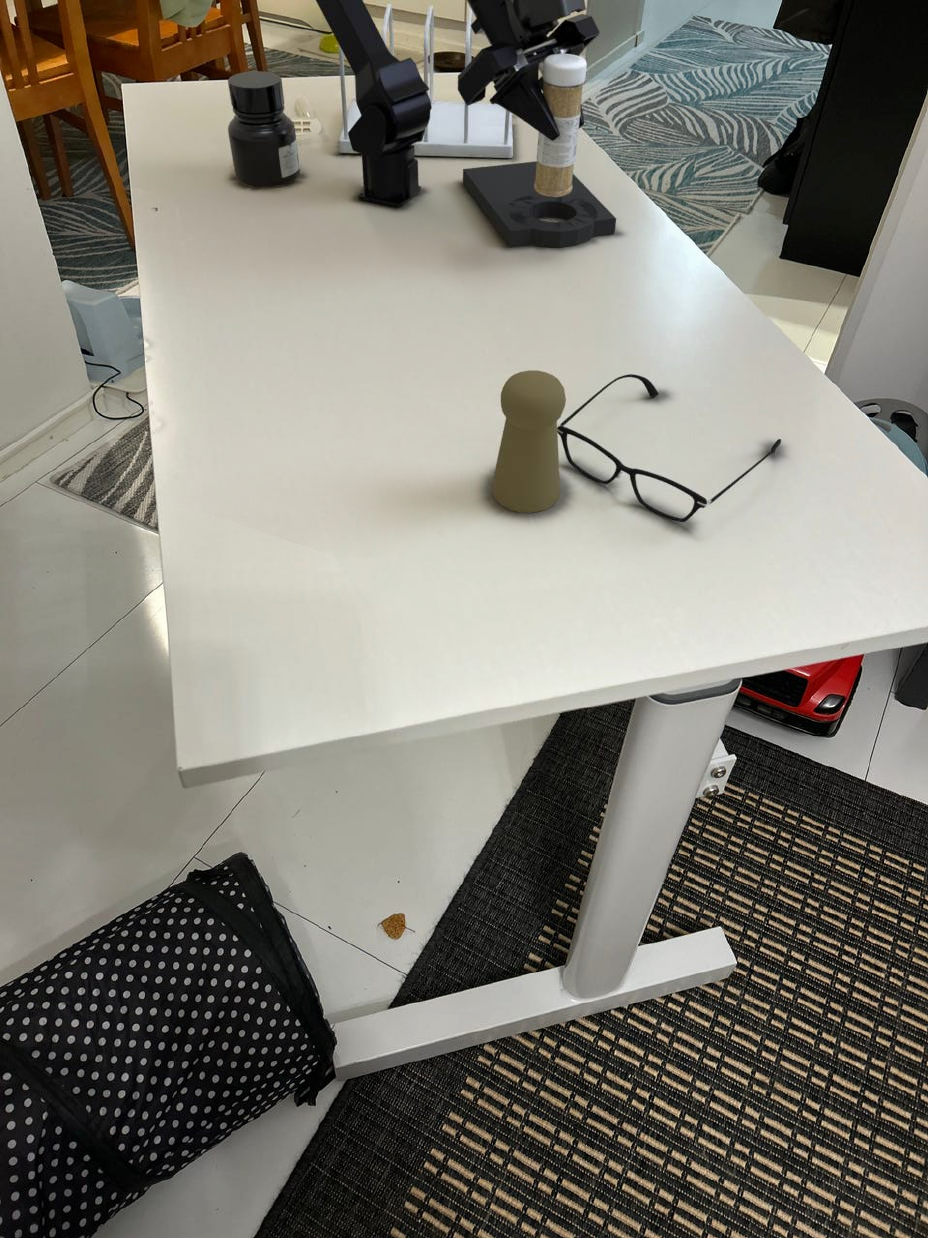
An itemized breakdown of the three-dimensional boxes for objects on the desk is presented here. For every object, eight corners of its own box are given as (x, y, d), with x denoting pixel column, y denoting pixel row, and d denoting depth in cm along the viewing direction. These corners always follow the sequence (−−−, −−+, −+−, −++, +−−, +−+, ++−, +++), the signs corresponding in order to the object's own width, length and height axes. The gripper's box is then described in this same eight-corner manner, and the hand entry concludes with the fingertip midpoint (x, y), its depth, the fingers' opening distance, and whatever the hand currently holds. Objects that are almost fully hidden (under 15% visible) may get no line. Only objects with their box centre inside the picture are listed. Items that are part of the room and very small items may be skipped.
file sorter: (339, 154, 130) (328, 29, 119) (352, 113, 142) (344, -5, 130) (512, 159, 130) (518, 33, 118) (511, 116, 142) (516, -1, 130)
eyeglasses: (543, 459, 82) (547, 422, 79) (642, 388, 90) (648, 352, 87) (700, 542, 74) (710, 504, 71) (792, 456, 82) (804, 419, 79)
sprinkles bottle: (540, 179, 106) (551, 49, 96) (577, 186, 105) (592, 55, 95) (527, 194, 103) (537, 61, 93) (565, 201, 102) (580, 68, 92)
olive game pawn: (512, 520, 76) (520, 409, 68) (479, 480, 79) (482, 370, 71) (573, 500, 78) (587, 389, 70) (537, 461, 81) (547, 352, 73)
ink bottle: (304, 187, 122) (293, 89, 113) (238, 193, 121) (222, 93, 112) (296, 160, 128) (285, 65, 120) (233, 165, 127) (217, 69, 118)
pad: (462, 183, 124) (462, 168, 122) (557, 173, 127) (559, 158, 125) (513, 253, 110) (514, 236, 108) (619, 239, 112) (621, 223, 111)
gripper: (483, -49, 84) (567, 110, 87) (596, -79, 93) (667, 66, 97) (421, 31, 93) (499, 172, 96) (530, -4, 103) (597, 126, 106)
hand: (568, 132), depth 99 cm, fingers closed on sprinkles bottle, 4 cm apart
